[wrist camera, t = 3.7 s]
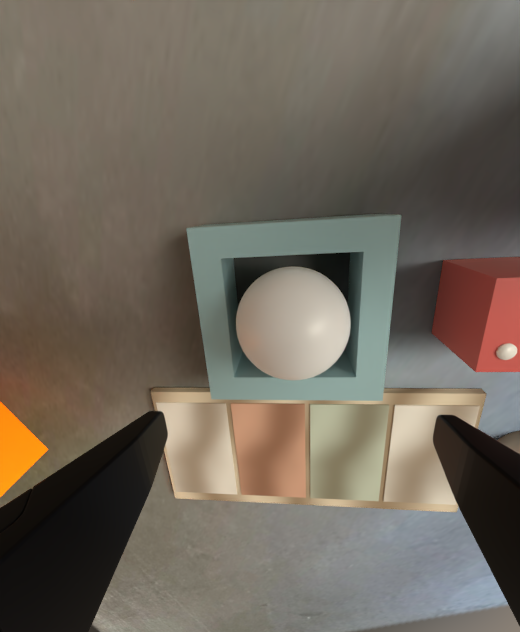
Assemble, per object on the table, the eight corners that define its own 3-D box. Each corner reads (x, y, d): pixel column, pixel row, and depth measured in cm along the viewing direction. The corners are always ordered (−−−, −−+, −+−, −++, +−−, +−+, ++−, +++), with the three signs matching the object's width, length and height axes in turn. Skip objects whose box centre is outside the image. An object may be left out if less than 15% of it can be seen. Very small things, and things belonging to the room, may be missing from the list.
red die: (531, 256, 17) (621, 274, 13) (511, 331, 19) (584, 372, 14) (443, 259, 18) (498, 278, 13) (431, 333, 20) (476, 372, 15)
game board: (481, 388, 21) (487, 394, 20) (452, 505, 25) (457, 513, 24) (153, 387, 24) (150, 392, 23) (177, 492, 28) (174, 499, 27)
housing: (380, 213, 17) (401, 214, 14) (368, 371, 21) (382, 400, 18) (204, 224, 19) (186, 228, 15) (223, 371, 22) (211, 399, 19)
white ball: (342, 255, 18) (368, 278, 12) (338, 347, 20) (359, 406, 14) (240, 260, 19) (217, 284, 13) (248, 348, 21) (231, 404, 15)
